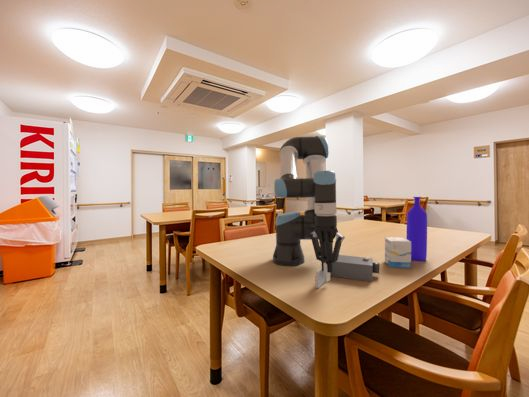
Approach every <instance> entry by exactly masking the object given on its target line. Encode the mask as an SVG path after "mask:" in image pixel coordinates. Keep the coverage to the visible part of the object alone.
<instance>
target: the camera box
mask: <svg viewBox="0 0 529 397" xmlns="http://www.w3.org/2000/svg"><path fill="white" fill-rule="evenodd" d="M373 260H374V259H373V257H367V256H354V255H342V254H339V256H338V260H337V261H336V262H334V263H332V272H331V277H336V278H344V279H350V280H352V279H353V280H356V281H357V280H359V281H366V282H373V274H378V275H380V262H374V261H373Z"/></svg>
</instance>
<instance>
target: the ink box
mask: <svg viewBox="0 0 529 397" xmlns="http://www.w3.org/2000/svg"><path fill="white" fill-rule="evenodd" d="M384 262H385V264H386V265H388V266H389V267H390V268H399V269H400V268H401V269H411V268H412V260H411V241H409V240H407V238H405V237H398V236H397V237H395V236H391V237H390V236H389V237H384Z"/></svg>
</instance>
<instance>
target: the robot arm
mask: <svg viewBox="0 0 529 397" xmlns="http://www.w3.org/2000/svg"><path fill="white" fill-rule="evenodd" d="M278 152H279V153H278V157H279V159H280V169H279V170H280V171H279V172H280V173H279V178H276V179H275V180H274V182H273V183H274V186H273V187H274V189H273V190H274V196H275V197H276V198H284V199H285V198H286V199H287V198H306V201H307V202H306V205H307V208H306V209H305V210H304V214H301V212H300V211H293V212H292V211H291V212H290V211H289V212H283V213H280V214H278V215H277V216H276V217H275V235H276V236H275V241H276V242H275V244H276V245H275V248H274V251H273V254H272V262H273V263H274V264H277V265H280V266H287V267H288V266H289V267H293V266H298V265H301V264H304V262H305V255H304V252H303V248H302V245H301V240H303V241H304V240H306V241H307V240H309V241H311V242H312V247H313V252H314V254H315V258H316V260H317V261H320V262H321V268H322V271H324V283H327V282H329V281H331V277H330V272H332V263H334V262H336V261H337V260H338V256H339V255H340V250H341V247H342V242H343V241H344V239H345V235H342V234H340V233H339V230H338V228H337V226H338V222H337V221H338V220H337V219H338V218H337V217H338V216H337V215H336V214H337V211H338V210H337V178H336V172H335V171H334V170H324V163H325V162H326V160H327V159H328V158H329V144H328V140H327V138H326V137H325V136H320V135H319V136H318V135H316V136H295V137H291V138H289V139H287V140H286V141H285V142H284V143H282V145H281V147H280V149H279V150H278ZM297 160H302V163H303V164H304V165H305V174H306V177H305V178H298V177H299V176H298V164H297V163H298V162H297ZM334 239H335V242H334ZM333 244H334V246H333Z"/></svg>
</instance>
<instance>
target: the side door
mask: <svg viewBox="0 0 529 397" xmlns="http://www.w3.org/2000/svg"><path fill="white" fill-rule="evenodd" d="M330 278H332V276H331V272H330ZM314 279H315V288H316V289H320V288H321V287H322V286H323V285H324V284H325V282H324V271H322V267H320V268H319V269H318V270H317V271H315V276H314Z"/></svg>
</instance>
